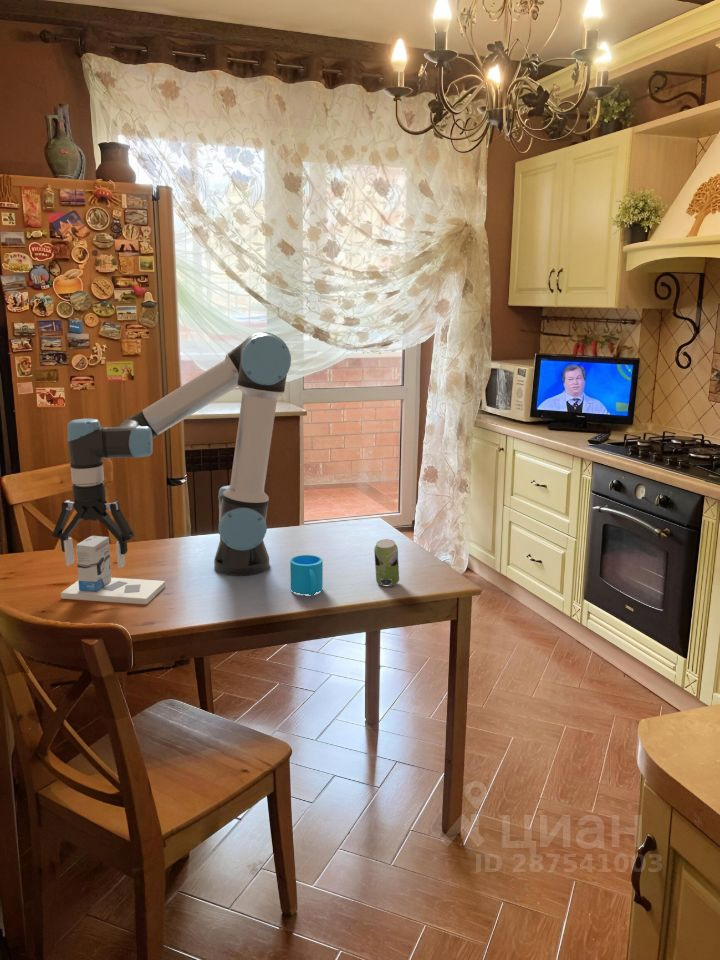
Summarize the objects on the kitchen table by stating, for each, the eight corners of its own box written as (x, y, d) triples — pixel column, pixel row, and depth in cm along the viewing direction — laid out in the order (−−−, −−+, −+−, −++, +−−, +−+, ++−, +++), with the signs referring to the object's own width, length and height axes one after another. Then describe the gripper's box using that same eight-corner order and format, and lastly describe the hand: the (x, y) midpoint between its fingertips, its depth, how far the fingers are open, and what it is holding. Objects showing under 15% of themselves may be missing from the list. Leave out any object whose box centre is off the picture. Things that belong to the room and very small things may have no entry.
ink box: (96, 592, 187) (93, 546, 184) (77, 590, 187) (74, 545, 185) (112, 580, 195) (110, 536, 192) (94, 578, 196) (91, 535, 193)
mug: (287, 586, 197) (287, 556, 195) (318, 583, 199) (318, 553, 197) (297, 603, 186) (297, 572, 184) (330, 600, 188) (330, 569, 186)
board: (165, 586, 195) (165, 580, 195) (146, 604, 184) (146, 598, 183) (84, 581, 198) (84, 575, 198) (61, 598, 186) (60, 592, 186)
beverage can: (401, 581, 201) (403, 538, 198) (393, 591, 194) (395, 546, 192) (379, 578, 203) (380, 535, 200) (370, 588, 196) (371, 543, 194)
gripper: (143, 480, 187) (149, 562, 192) (48, 477, 190) (56, 558, 195) (130, 487, 180) (137, 572, 185) (32, 484, 183) (41, 568, 188)
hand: (95, 565), depth 190 cm, fingers open, 13 cm apart
